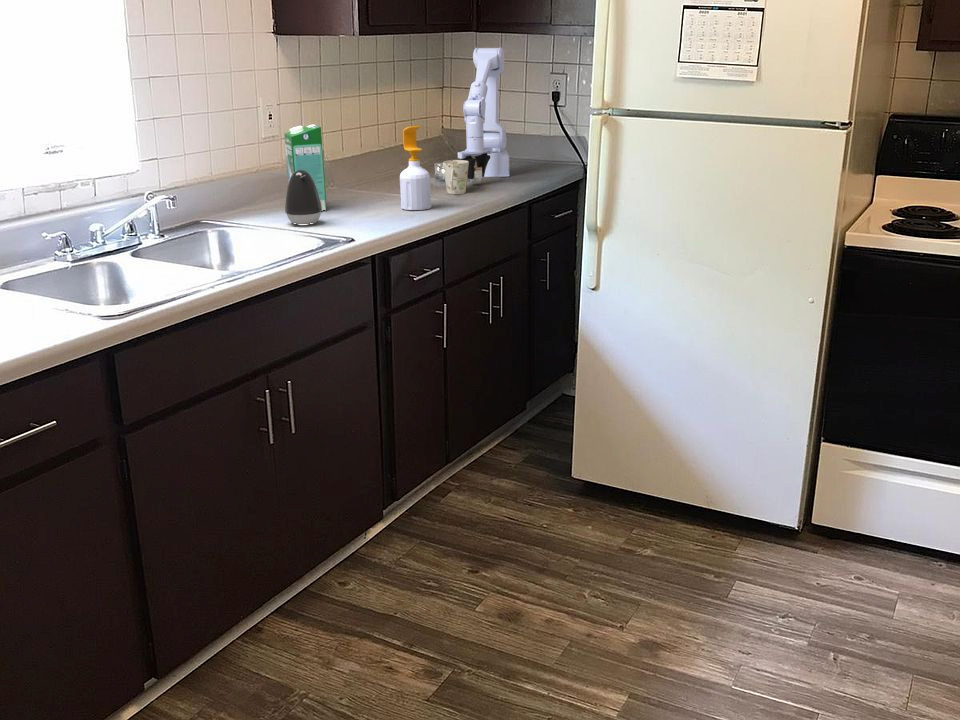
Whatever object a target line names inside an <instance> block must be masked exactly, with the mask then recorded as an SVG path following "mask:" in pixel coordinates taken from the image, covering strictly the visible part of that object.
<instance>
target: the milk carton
mask: <svg viewBox="0 0 960 720" xmlns="http://www.w3.org/2000/svg"><path fill="white" fill-rule="evenodd" d="M322 138H323V137H322V127H321V126H319V125H317V124H314V123H311V124H309V125H305V126H302V125H298V126H294V127H292V128H289V131H288V132H285V133H284V145H285V156H286V157H285V159H286V169H287V180H288V183H289V180H290V178H291V176H292V174H293V173H294V172H295V171H297V170H304V171H306V172H308V173H309V174H310V176H311V177H312V179H313V181H314V183H315V185H316V188H317V191H318V194H319V197H320V201H321V206H322V210H327V211H328V207H327V205H328V204H327V194H326V192H327V191H326V178H325V167H324V166H325V165H324V151H323V150H324V149H323V139H322Z"/></svg>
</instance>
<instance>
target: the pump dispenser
mask: <svg viewBox="0 0 960 720" xmlns="http://www.w3.org/2000/svg"><path fill="white" fill-rule="evenodd" d="M285 193H286V194H285V202H284V211H285V214H286V217H287V219H288V220H289V221H290V222H291V224H293V223H296V224H310V223H314V224H315V222H316V223H317V222H318V221H319V219H320V217H321V214H322V212H321V211H322V206H321V201H320V197H319V194H318V191H317V188H316V185H315V183H314V181H313V179H312V177H311V176H310V174H309V173H308V172H306V171H304V170H297V171H295V172H294V173H293V174H292V176H291V178H290V180H289V182H288V183H287V188H286V192H285Z"/></svg>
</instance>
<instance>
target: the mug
mask: <svg viewBox="0 0 960 720" xmlns="http://www.w3.org/2000/svg"><path fill="white" fill-rule="evenodd" d="M442 163H443V168H444V174H445V181H446V186H445V188H446V192H447V194H449V195H462V194H465V193H466V191H467V185H468V184H467V182H468V177H467V175H468V165H469V162H468V161H465V160H460V159H451V160H444V161H443V162H442Z"/></svg>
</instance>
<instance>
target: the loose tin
mask: <svg viewBox="0 0 960 720" xmlns="http://www.w3.org/2000/svg"><path fill="white" fill-rule="evenodd" d="M482 169H483V167H482V166H477V165H475V166H474V178H473V179H468V180H469V181H468V183H470V184H481V183H483V177H482Z"/></svg>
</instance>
